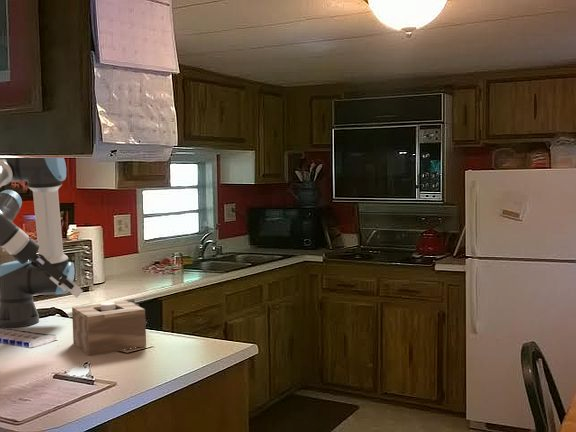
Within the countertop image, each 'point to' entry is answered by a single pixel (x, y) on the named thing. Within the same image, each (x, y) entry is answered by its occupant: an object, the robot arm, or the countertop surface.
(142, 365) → the countertop surface
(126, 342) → the walnut drop box
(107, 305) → the sprinkles bottle
